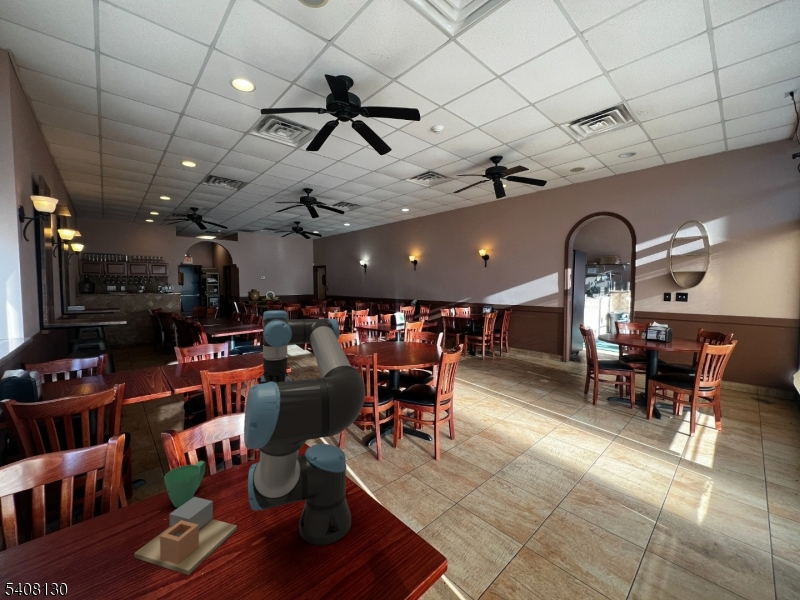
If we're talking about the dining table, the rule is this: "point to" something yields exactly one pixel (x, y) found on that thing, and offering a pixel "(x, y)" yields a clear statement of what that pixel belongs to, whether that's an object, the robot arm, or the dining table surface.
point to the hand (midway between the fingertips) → (275, 427)
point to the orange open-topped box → (179, 542)
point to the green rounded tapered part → (184, 482)
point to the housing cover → (193, 512)
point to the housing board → (208, 543)
